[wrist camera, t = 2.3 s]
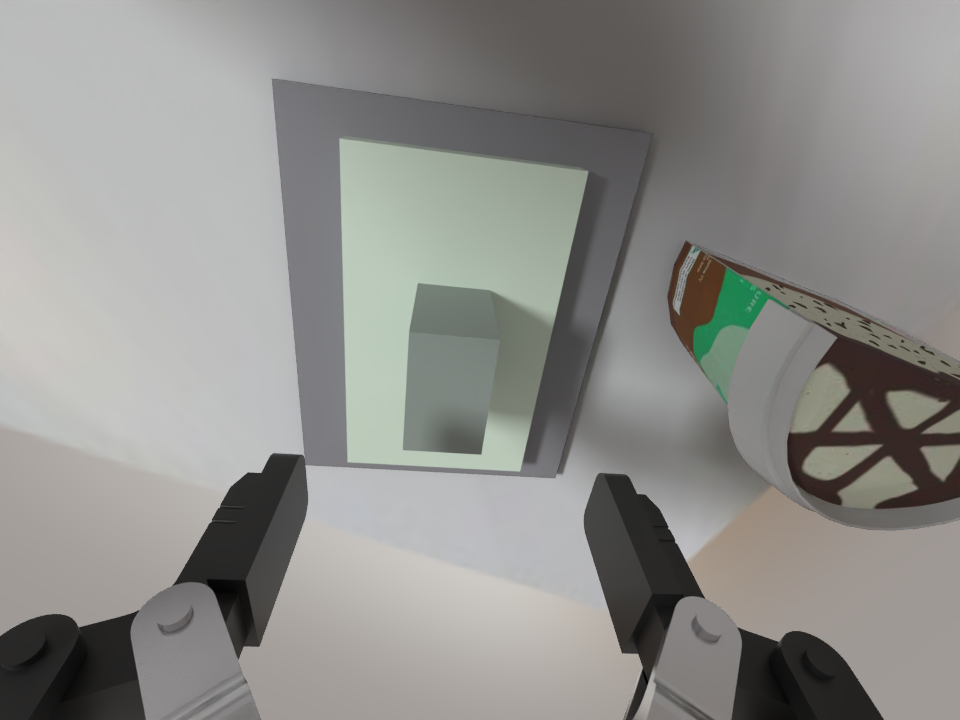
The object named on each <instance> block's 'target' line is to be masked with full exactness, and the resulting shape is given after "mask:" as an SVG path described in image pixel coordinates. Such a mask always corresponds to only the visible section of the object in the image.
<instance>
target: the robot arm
mask: <svg viewBox="0 0 960 720" xmlns="http://www.w3.org/2000/svg"><path fill="white" fill-rule="evenodd" d="M307 505H308V491H307V479H306V468H305V459H304V456H303V455H295V454H277V453H273V454H272V455H271V456H270V458H269V459H268V461H267V463H266V465H265V467H264V469H263V471H262V473H247V474H246V475H244V476H243V477H242V478H241V479H240V480H239V481H237V482H236V483H235V484H234V485H233V486H231V487H230V489H229V491H228V493H227V494H226V496H225V498H224V500H223V501H222V503H221V506H220V508H218V510H217V512H216V513H215V515H214V517H213V519H212V522H211V523H210V524H209V525H208V527H207V529H206V531H205V533H204V534H203V536H202V537H201V539H200V541H199V543H198V545H197V546H196V548H195V550H194V551H193V553H192V555H191V557H190V558H189V560H188V562H187V563H186V565H185V567H184V569H183V570H182V572H181V574H180V575H179V577H178V579H177V581H176V582H175V583H174V584H173V586H171V587H169V588H167V589H165V590H163V591H161V592H159V593H158V594H156V595H155V596H154V597H152V598H151V599H150V600H149V601H147V603H146V604H145V605H144V606H143V607H142V608H141V609H140V610H139V611H137V612H134V613H131V614H128V615H125V616H121V617H118V618H114V619H110V620H106V621H102V622H98V623H94V624H90V625H87V626H83V627H78V626H77V624H76V622H75V621H74V620H73V619H72V618H70V617H68V616H66V615H61V614H51V615H44V616H40V617H36V618H34V619H30V620H28V621H26V622H23V623H21V624H19V625H17V626H16V627H14V628H12V629H10V630H9V631H7V632H6V633H4V634H3V635H1V636H0V720H261V718H260V715H259V713H258V710H257V707H256V704H255V702H254V699H253V696H252V693H251V690H250V688H249V685H248V683H247V681H246V680H245V678H244V675H243V673H242V670H241V667H240V664H239V661H238V660H239V657H240V654H241V652H242V649H243V647H244V646H257V647H258V646H260V643H261V641H262V638H263V635H264V632H265V629H266V627H267V624H268V621H269V618H270V615H271V612H272V610H273V607H274V604H275V601H276V598H277V596H278V593H279V590H280V587H281V584H282V581H283V579H284V576H285V573H286V570H287V568H288V565H289V562H290V559H291V556H292V554H293V551H294V548H295V545H296V542H297V540H298V537H299V534H300V531H301V528H302V525H303V523H304V520H305V516H306V512H307ZM584 529H585V534H586V537H587V541H588V544H589V547H590V550H591V554H592V557H593V560H594V563H595V567H596V570H597V573H598V576H599V580H600V583H601V586H602V589H603V593H604V596H605V599H606V602H607V606H608V609H609V612H610V615H611V619H612V622H613V625H614V628H615V632H616V635H617V638H618V642H619V645H620V648H621V651H622V653H631V654H634V653H635V654H639V657H640V660H641V663H642V667H641V669H640V671H639V674H638V677H637V680H636V683H635V686H634V689H633V692H632V695H631V698H630V700H629V704H628V706H627V710H626V712H625V716H624V718H623V720H884V719H883V718H882V716H881V714H880V713H879V711H878V710H877V708H876V707H875V706H874V704H873V702H872V701H871V699H870V698H869V696H868V694H867V693H866V691H865V690H864V688H863V687H862V685H861V684H860V682H859V681H858V679H857V678H856V676H855V675H854V673H853V671H852V670H851V668H850V667H849V666H848V664H847V663H846V661H845V660H844V659H843V658H842V657H841V656H840V655H839V654H838V653H837V652H836V651H835V650H834V649H833V648H832V647H830V646H829V645H828V644H827V643H825V642H824V641H822V640H820V639H819V638H817V637H815V636H813V635H811V634H808V633H805V632H800V631H792V632H789V633H787V634H785V636H784V637H783V638H782V639H781V640H780V642H777V641H774V640H772V639H769V638H765V637H763V636H760V635H757V634H754V633H751V632H748V631H745V630H743V629H740V628H738V627H737V626H736V624H735V623H734V622H733V620H732V619H731V618H730V616H729V615H728V614H727V613H726V612H725V611H724V610H722V609H721V608H720V607H719V606H717V605H716V604H714V603H713V602H710V601H709V600H706V599H705V597H704V596H703V594H702V592H701V590H700V588H699V586H698V584H697V582H696V580H695V578H694V576H693V574H692V572H691V571H690V568H689V566H688V564H687V562H686V560H685V558H684V556H683V554H682V553H681V551H680V549H679V547H678V545H677V544H676V543H675V539H674V537H673V535H672V533H671V531H670V530H668V525H667V523H666V521H665V519H664V517H663V515H662V513H661V511H660V509H659V508H658V507H657V506H656V505H655V504H654V503H653V502H652V501H651V500H650V499H649V498H648V497H647V496H646V495H642V494H637V493H636V491H635V489H634V487H633V484H632V482H631V480H630V478H629V477H628V476H627V475H624V474H606V473H599V474H598V475H597V477H596V480H595V483H594V486H593V489H592V492H591V494H590V497H589V500H588V503H587V506H586V509H585V514H584Z"/></svg>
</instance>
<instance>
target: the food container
mask: <svg viewBox="0 0 960 720" xmlns="http://www.w3.org/2000/svg"><path fill="white" fill-rule="evenodd" d="M667 297H668V305H669V313H670V321H671V325H672V326H673V328H674V330H675V332H676V333H677V335H678V337H679V339H680V340H681V342H682V344H683V345H684V347H685V348H686V349H687V351H688V352H689V353H690V355H691V356H692V358H693V359H694V360H695V362H696V363H697V364H698V366H699V367H700V368H701V370H702V371H703V372H704V374H705V375H706V377H707V378H708V379H709V381H710V382H711V383H712V385H713V386H714V387H715V389H716V390H717V392H718V393H719V394H720V396H721V397H722V398H723V400H724V401H725V402H726V404H727V405H728V406H727V407H728V417H729V427H730V431H731V434H732V437H733V440H734V442H735V445H736V448H737V449H738V451H739V452H740V454H741V455H742V457H743V458H744V460H745V462H746V463H747V464H748V465H749V466H750V467H751V468H752V469H753V470H754V471H756V472H757V473H758V474H759V475H760V476H761V477H762V478H764V479H765V480H766V481H768V482H769V483H770V484H771V485H773V486H774V487H775V488H777V489H778V490H779V491H781V492H782V493H783V494H785V495H786V496H787V497H788V498H790V499H791V500H793V501H794V502H796V503H798V504H799V505H801V506H803V507H804V508H806V509H808V510H811V511H814V512H817V513H818V514H820V515H822V516H824V517H825V518H827V519H829V520H832V521H834V522H837V523H840V524H843V525H846V526H851V527H857V528H862V529H868V530H904V529H916V528H922V527H929V526H934V525H940V524H945V523H949V522H953V521H957V520H960V361H958V360H956V359H954V358H952V357H950V356H948V355H946V354H944V353H942V352H940V351H938V350H936V349H934V348H932V347H930V346H928V345H926V344H924V343H922V342H920V341H918V340H916V339H914V338H912V337H910V336H908V335H906V334H904V333H902V332H900V331H898V330H896V329H894V328H892V327H890V326H888V325H886V324H884V323H882V322H881V321H879V320H877V319H875V318H873V317H871V316H869V315H867V314H865V313H863V312H861V311H859V310H857V309H855V308H853V307H851V306H849V305H847V304H845V303H842V302H840V301H837V300H835V299H832V298H830V297H827V296H825V295H822V294H820V293H817V292H815V291H812V290H810V289H807V288H804V287H802V286H799V285H797V284H794V283H792V282H789V281H787V280H784V279H782V278H779V277H777V276H774V275H772V274H769V273H767V272H764V271H761V270H759V269H756V268H754V267H751V266H749V265H746V264H744V263H741V262H739V261H736V260H734V259H731V258H729V257H726V256H724V255H721V254H719V253H716V252H713V251H711V250H708V249H706V248H703V247H701V246H698V245H696V244H693V243H691V242H688V241H686V242H685V244H684V246H683V248H682V250H681V252H680V254H679V256H678V258H677V260H676V262H675V264H674V268H673V273H672V277H671V282H670V287H669V292H668V296H667Z"/></svg>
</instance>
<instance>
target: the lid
mask: <svg viewBox="0 0 960 720" xmlns="http://www.w3.org/2000/svg"><path fill="white" fill-rule="evenodd" d="M339 145H340V184H341V224H342V263H343V303H344V342H345V382H346V421H347V461H348V462H352V463H371V464H389V465H408V466H426V467H445V468H463V469H482V470H500V471H518V472H520V470H521V465H522V461H523V457H524V452H525V448H526V444H527V439H528V435H529V430H530V426H531V422H532V417H533V413H534V408H535V404H536V400H537V395H538V391H539V387H540V382H541V378H542V373H543V369H544V365H545V360H546V356H547V352H548V347H549V343H550V338H551V334H552V330H553V325H554V321H555V317H556V312H557V308H558V303H559V299H560V295H561V290H562V286H563V281H564V277H565V273H566V268H567V264H568V260H569V255H570V251H571V246H572V242H573V238H574V233H575V229H576V225H577V220H578V216H579V211H580V207H581V203H582V198H583V194H584V189H585V185H586V181H587V176H588V172H589V171H587V170H585V169H583V168H581V167H575V166H568V165H560V164H553V163H545V162H537V161H530V160H522V159H515V158H507V157H500V156H492V155H485V154H477V153H470V152H462V151H455V150H447V149H440V148H432V147H425V146H417V145H410V144H402V143H395V142H387V141H380V140H372V139H365V138H357V137H349V136H345V137H342V138H339Z"/></svg>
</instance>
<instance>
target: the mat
mask: <svg viewBox="0 0 960 720" xmlns="http://www.w3.org/2000/svg"><path fill="white" fill-rule="evenodd" d="M272 85H273V97H274V108H275V120H276V131H277V143H278V155H279V166H280V178H281V189H282V201H283V212H284V224H285V235H286V247H287V258H288V270H289V281H290V293H291V304H292V316H293V327H294V339H295V350H296V362H297V373H298V385H299V397H300V408H301V420H302V431H303V443H304V454H305V465H314V466H333V467H352V468H371V469H390V470H408V471H427V472H446V473H465V474H484V475H503V476H522V477H541V478H555V477H556V474H557V470H558V467H559V463H560V460H561V456H562V453H563V449H564V446H565V442H566V439H567V435H568V431H569V428H570V424H571V421H572V417H573V414H574V410H575V407H576V403H577V400H578V396H579V393H580V389H581V386H582V382H583V378H584V375H585V371H586V368H587V364H588V361H589V357H590V354H591V350H592V347H593V343H594V340H595V336H596V332H597V329H598V325H599V322H600V318H601V315H602V311H603V308H604V304H605V301H606V297H607V294H608V290H609V287H610V283H611V279H612V276H613V272H614V269H615V265H616V262H617V258H618V255H619V251H620V248H621V244H622V241H623V237H624V234H625V230H626V226H627V223H628V219H629V216H630V212H631V209H632V205H633V202H634V198H635V195H636V191H637V188H638V184H639V180H640V177H641V173H642V170H643V166H644V163H645V159H646V156H647V152H648V149H649V145H650V142H651V138H652V135H653V134H652V133H646V132H639V131H632V130H625V129H618V128H611V127H604V126H597V125H591V124H584V123H577V122H570V121H563V120H556V119H549V118H542V117H535V116H528V115H521V114H514V113H507V112H500V111H494V110H487V109H480V108H473V107H466V106H459V105H452V104H445V103H438V102H431V101H424V100H417V99H410V98H403V97H397V96H390V95H383V94H376V93H369V92H362V91H355V90H348V89H341V88H334V87H327V86H320V85H313V84H306V83H300V82H293V81H286V80H279V79H272ZM345 136H349V137H357V138H365V139H372V140H380V141H387V142H395V143H402V144H410V145H417V146H425V147H432V148H440V149H447V150H455V151H462V152H470V153H477V154H485V155H492V156H500V157H507V158H515V159H522V160H530V161H537V162H545V163H553V164H560V165H568V166H575V167H581V168H583V169H585V170H587V171H589V172H588V176H587V181H586V185H585V189H584V194H583V198H582V203H581V207H580V211H579V216H578V220H577V225H576V229H575V233H574V238H573V242H572V246H571V251H570V255H569V260H568V264H567V268H566V273H565V277H564V281H563V286H562V290H561V295H560V299H559V303H558V308H557V312H556V317H555V321H554V325H553V330H552V334H551V338H550V343H549V347H548V352H547V356H546V360H545V365H544V369H543V373H542V378H541V382H540V387H539V391H538V395H537V400H536V404H535V408H534V413H533V417H532V422H531V426H530V430H529V435H528V439H527V444H526V448H525V452H524V457H523V461H522V465H521V470H520V472H518V471H500V470H482V469H463V468H445V467H426V466H408V465H389V464H371V463H352V462H348V461H347V421H346V382H345V342H344V303H343V263H342V224H341V184H340V145H339V138H342V137H345Z"/></svg>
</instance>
